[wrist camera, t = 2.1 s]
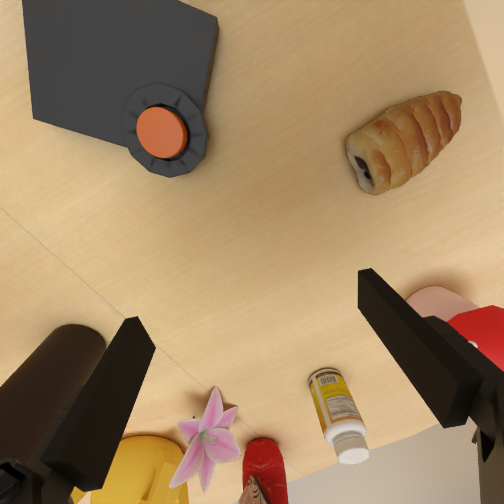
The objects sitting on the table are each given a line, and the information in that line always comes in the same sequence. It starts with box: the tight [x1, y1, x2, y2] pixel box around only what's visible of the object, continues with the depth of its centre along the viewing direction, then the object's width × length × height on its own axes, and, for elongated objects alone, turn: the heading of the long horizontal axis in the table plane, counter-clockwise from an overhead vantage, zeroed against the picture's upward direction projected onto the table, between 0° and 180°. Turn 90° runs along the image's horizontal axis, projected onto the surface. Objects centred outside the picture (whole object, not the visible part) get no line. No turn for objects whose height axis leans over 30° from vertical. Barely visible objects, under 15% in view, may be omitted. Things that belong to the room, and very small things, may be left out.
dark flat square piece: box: [22, 0, 219, 178], centre depth 17 cm, size 13×11×4 cm
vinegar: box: [0, 325, 106, 465], centre depth 21 cm, size 7×7×20 cm
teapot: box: [71, 435, 189, 504], centre depth 38 cm, size 17×17×12 cm
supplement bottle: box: [309, 369, 370, 464], centre depth 32 cm, size 6×6×10 cm
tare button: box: [136, 107, 187, 158], centre depth 17 cm, size 3×3×2 cm
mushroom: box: [406, 286, 504, 372], centre depth 26 cm, size 11×11×12 cm
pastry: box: [346, 91, 462, 195], centre depth 20 cm, size 9×7×4 cm
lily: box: [169, 387, 241, 493], centre depth 35 cm, size 12×12×10 cm
